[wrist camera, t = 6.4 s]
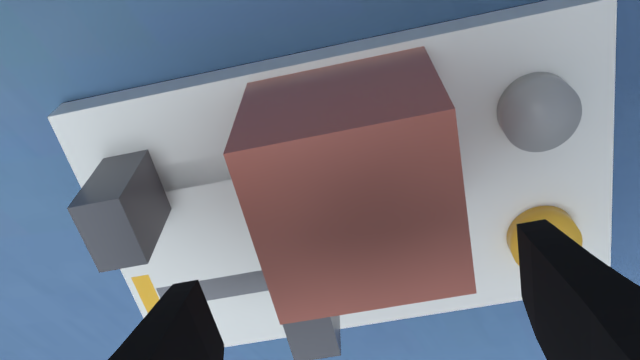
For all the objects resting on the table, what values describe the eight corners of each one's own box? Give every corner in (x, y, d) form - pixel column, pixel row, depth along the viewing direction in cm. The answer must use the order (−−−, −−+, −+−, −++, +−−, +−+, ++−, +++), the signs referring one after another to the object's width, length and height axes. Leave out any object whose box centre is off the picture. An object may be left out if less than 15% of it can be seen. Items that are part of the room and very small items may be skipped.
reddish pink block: (423, 45, 18) (454, 108, 14) (444, 199, 21) (476, 293, 16) (247, 83, 19) (222, 153, 14) (289, 227, 21) (280, 324, 17)
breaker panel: (600, -12, 18) (673, 25, 14) (597, 266, 24) (650, 348, 20) (61, 103, 20) (0, 162, 16) (168, 336, 26) (141, 422, 22)
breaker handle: (326, 246, 21) (326, 301, 19) (339, 296, 23) (340, 355, 20) (283, 253, 22) (277, 309, 19) (298, 303, 23) (294, 362, 20)
